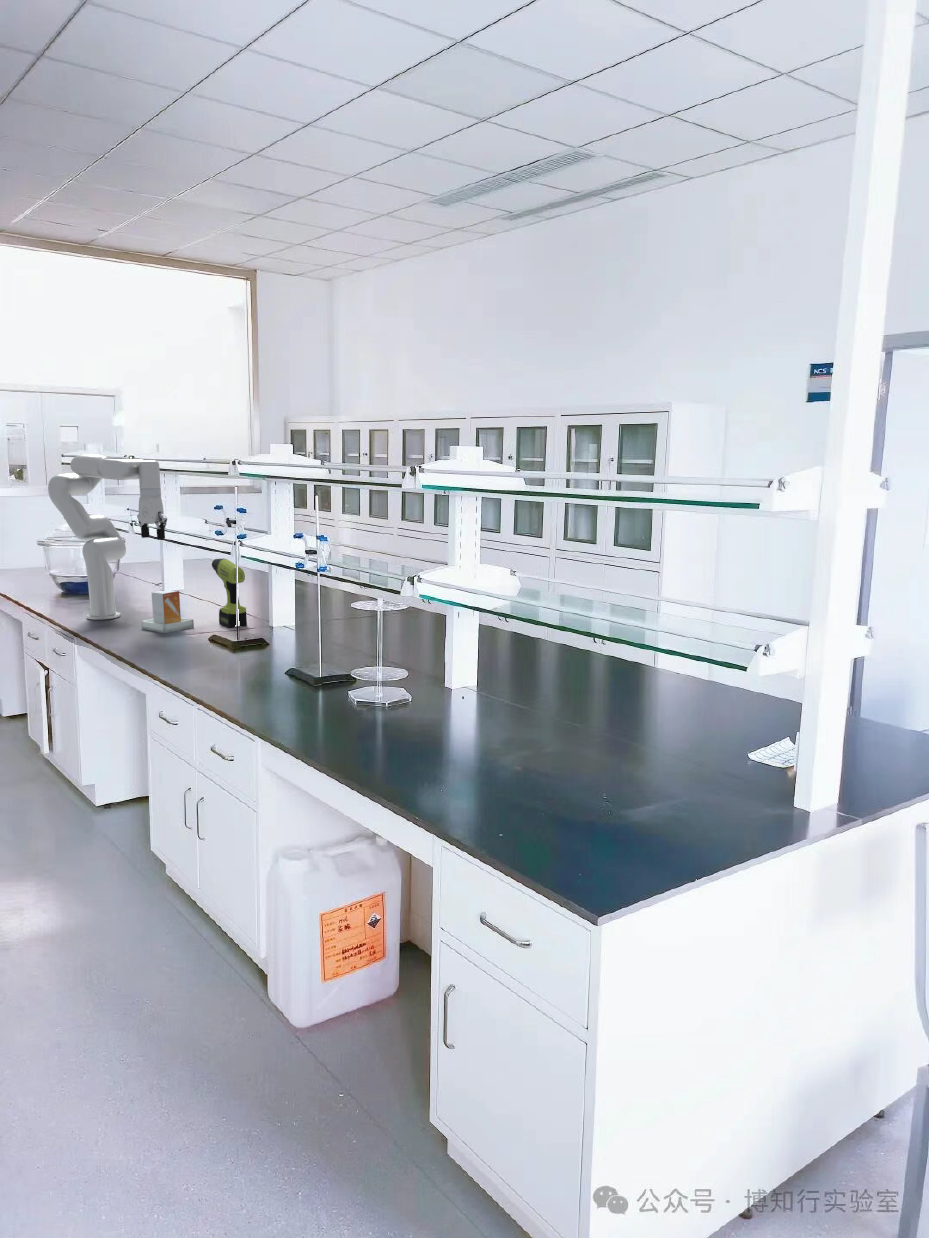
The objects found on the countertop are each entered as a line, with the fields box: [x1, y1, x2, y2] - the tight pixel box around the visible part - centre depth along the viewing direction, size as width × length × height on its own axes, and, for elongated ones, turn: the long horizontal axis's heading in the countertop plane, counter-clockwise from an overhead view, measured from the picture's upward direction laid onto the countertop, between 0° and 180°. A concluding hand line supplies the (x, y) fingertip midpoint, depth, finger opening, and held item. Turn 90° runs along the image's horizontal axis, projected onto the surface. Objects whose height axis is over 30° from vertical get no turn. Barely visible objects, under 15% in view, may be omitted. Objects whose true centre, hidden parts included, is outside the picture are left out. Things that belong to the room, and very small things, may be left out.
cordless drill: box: [211, 558, 248, 629], centre depth 351 cm, size 23×7×25 cm, turn 37°
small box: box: [151, 589, 182, 625], centre depth 343 cm, size 8×6×13 cm
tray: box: [140, 617, 195, 634], centre depth 345 cm, size 14×13×3 cm
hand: (153, 538), depth 349 cm, fingers open, 9 cm apart
